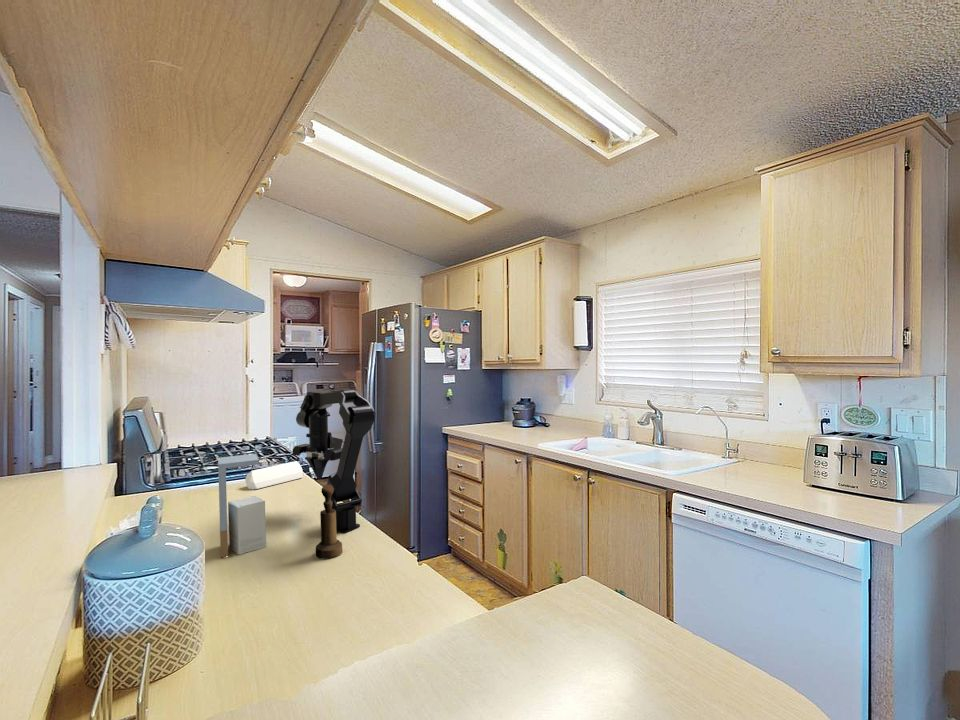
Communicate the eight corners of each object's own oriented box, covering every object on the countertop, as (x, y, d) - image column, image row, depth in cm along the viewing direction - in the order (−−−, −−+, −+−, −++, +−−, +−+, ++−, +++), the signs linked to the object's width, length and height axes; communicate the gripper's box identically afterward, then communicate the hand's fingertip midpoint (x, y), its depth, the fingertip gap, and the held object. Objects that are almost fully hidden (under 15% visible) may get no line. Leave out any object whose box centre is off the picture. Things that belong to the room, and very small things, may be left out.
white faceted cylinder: (293, 465, 208) (238, 478, 188) (302, 459, 204) (246, 471, 184) (299, 482, 205) (244, 496, 186) (307, 475, 202) (252, 489, 182)
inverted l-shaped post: (258, 539, 136) (256, 453, 135) (261, 550, 128) (258, 459, 127) (220, 546, 131) (218, 457, 130) (221, 558, 123) (218, 464, 123)
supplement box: (267, 547, 130) (265, 500, 130) (237, 555, 125) (236, 507, 124) (256, 539, 135) (255, 495, 135) (228, 547, 130) (227, 501, 130)
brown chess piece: (334, 546, 130) (333, 480, 129) (347, 553, 125) (345, 484, 125) (311, 554, 125) (309, 485, 125) (322, 561, 120) (321, 490, 120)
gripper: (358, 428, 156) (359, 476, 156) (318, 424, 165) (319, 469, 165) (331, 433, 146) (332, 484, 146) (291, 429, 155) (292, 477, 156)
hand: (319, 478), depth 154 cm, fingers closed
